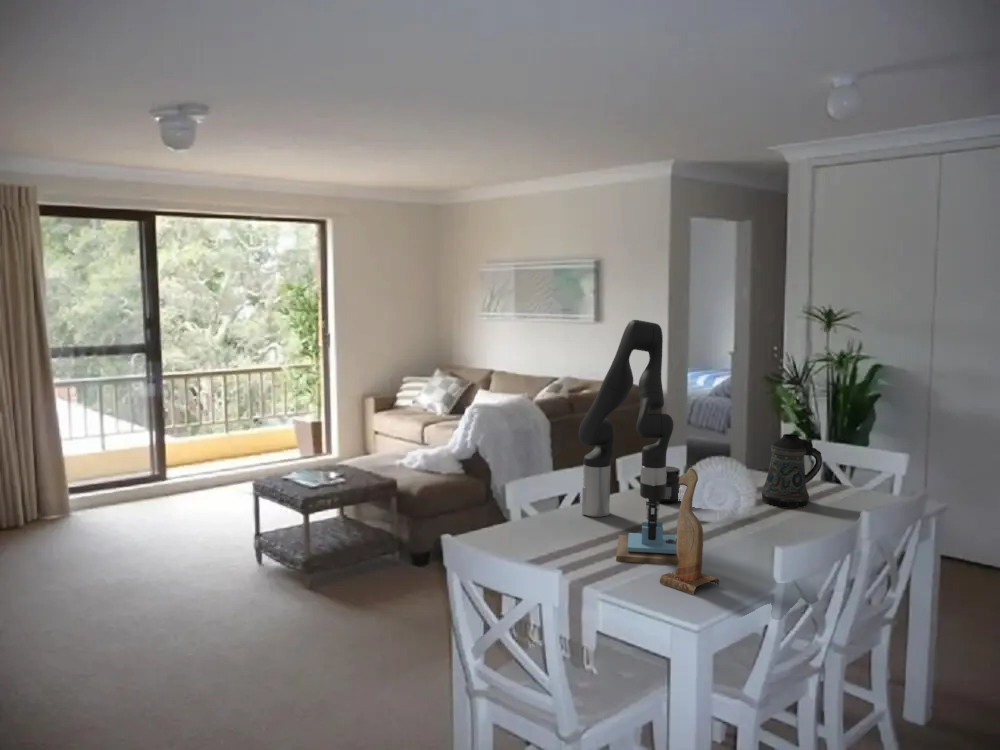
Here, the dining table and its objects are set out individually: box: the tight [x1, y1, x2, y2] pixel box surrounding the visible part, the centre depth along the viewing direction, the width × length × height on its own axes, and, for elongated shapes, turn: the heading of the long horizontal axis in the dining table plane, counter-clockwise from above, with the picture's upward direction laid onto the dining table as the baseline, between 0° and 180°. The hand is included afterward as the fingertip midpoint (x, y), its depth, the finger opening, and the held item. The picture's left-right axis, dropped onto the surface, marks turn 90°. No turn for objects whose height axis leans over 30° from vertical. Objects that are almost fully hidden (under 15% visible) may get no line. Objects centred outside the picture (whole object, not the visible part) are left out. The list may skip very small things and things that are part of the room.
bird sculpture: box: [659, 467, 720, 595], centre depth 218 cm, size 11×12×32 cm
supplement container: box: [657, 465, 681, 505], centre depth 303 cm, size 10×10×12 cm
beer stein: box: [761, 433, 823, 509], centre depth 301 cm, size 16×19×25 cm
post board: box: [615, 534, 679, 566], centre depth 245 cm, size 20×20×8 cm
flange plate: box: [627, 520, 677, 554], centre depth 245 cm, size 14×14×6 cm
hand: (651, 535), depth 245 cm, fingers closed on flange plate, 6 cm apart
